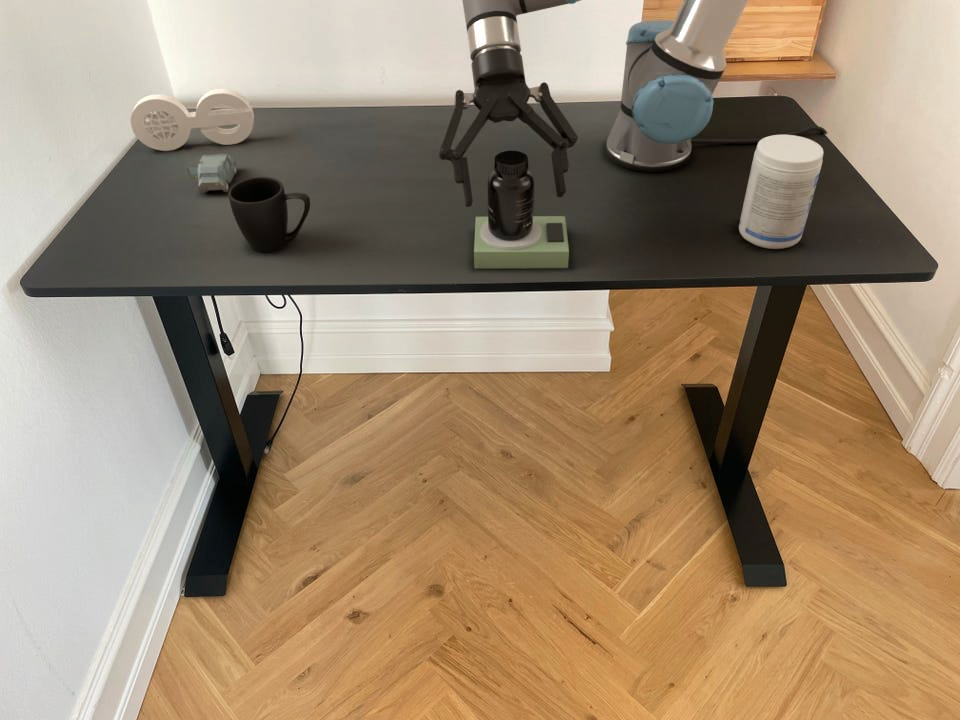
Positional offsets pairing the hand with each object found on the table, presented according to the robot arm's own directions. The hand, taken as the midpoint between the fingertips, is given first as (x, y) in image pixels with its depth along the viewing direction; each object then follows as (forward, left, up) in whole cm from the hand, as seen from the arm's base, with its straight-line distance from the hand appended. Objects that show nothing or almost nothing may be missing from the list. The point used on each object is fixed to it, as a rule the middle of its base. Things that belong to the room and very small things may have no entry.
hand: (515, 199), depth 113 cm
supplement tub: (-40, -6, -10) cm, 42 cm away
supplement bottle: (+1, -2, -6) cm, 7 cm away
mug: (+37, -4, -10) cm, 39 cm away
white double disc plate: (+60, -39, -10) cm, 72 cm away
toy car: (+53, -24, -10) cm, 59 cm away
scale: (-1, -2, -10) cm, 10 cm away
